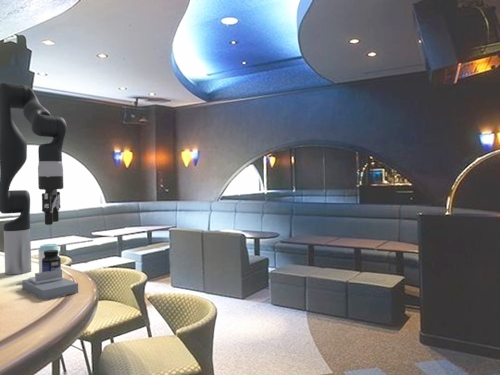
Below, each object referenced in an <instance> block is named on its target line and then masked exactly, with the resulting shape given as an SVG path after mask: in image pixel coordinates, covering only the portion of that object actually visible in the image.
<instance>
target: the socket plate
mask: <svg viewBox="0 0 500 375" xmlns="http://www.w3.org/2000/svg"><path fill="white" fill-rule="evenodd" d="M21 282H22V290H23V291H25V292H27V293H28V294H31V295H33V296H34V297H35V298H38V299H40V300H42V301H46V300H50V299H56V298H60V297H64V295H65V296H68V294H70V295H74V294H78V293H79V283H78V282H75V281H73V280H71V279H68V278H65V277H63V276H62V280H56V281H51V282H46V283H40V284H35V283H33V282H31V281H29V280H28V279H23V280H21Z"/></svg>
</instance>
